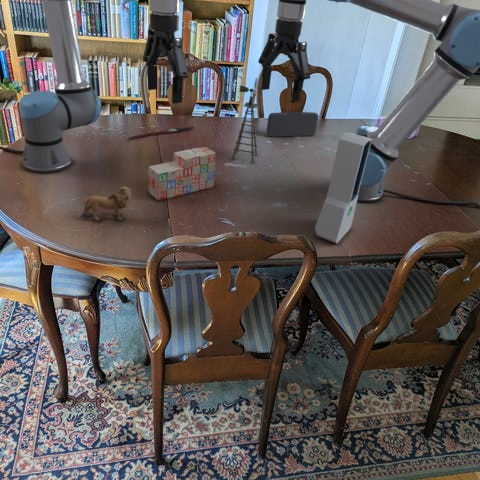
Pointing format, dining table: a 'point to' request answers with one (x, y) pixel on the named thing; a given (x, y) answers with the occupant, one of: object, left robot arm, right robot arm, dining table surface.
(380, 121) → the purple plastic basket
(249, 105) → the miniature windmill
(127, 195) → the lion figurine
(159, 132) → the sword
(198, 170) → the stack of blocks
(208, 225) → the dining table surface
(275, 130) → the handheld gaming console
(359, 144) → the electronic device
